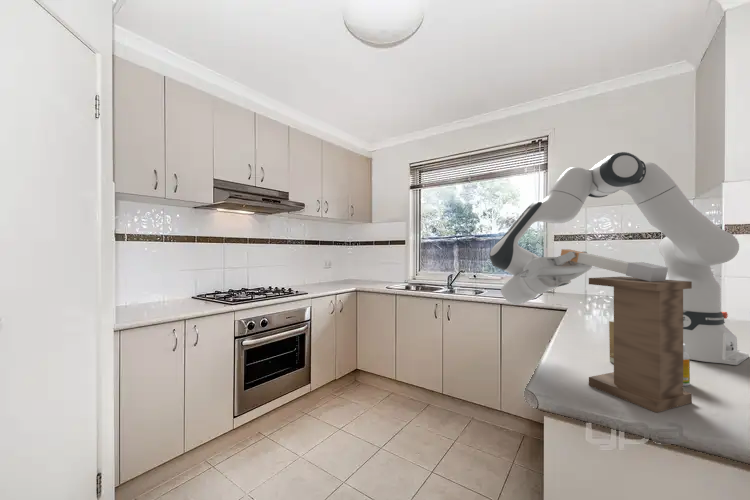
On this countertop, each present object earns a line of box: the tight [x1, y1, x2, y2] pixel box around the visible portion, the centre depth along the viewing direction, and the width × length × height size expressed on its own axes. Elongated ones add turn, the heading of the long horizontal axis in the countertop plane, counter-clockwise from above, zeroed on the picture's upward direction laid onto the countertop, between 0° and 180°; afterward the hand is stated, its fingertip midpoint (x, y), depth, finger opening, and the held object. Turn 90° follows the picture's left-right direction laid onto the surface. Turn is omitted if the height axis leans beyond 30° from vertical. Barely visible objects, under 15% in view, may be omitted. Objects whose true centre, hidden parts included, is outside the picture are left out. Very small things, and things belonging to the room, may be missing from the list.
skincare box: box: [608, 320, 614, 364], centre depth 93 cm, size 6×4×12 cm
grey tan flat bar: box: [560, 248, 668, 282], centre depth 80 cm, size 5×23×3 cm, turn 20°
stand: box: [588, 276, 693, 413], centre depth 73 cm, size 12×14×26 cm
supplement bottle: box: [683, 343, 691, 387], centre depth 80 cm, size 5×5×10 cm
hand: (580, 253), depth 86 cm, fingers closed on grey tan flat bar, 3 cm apart
